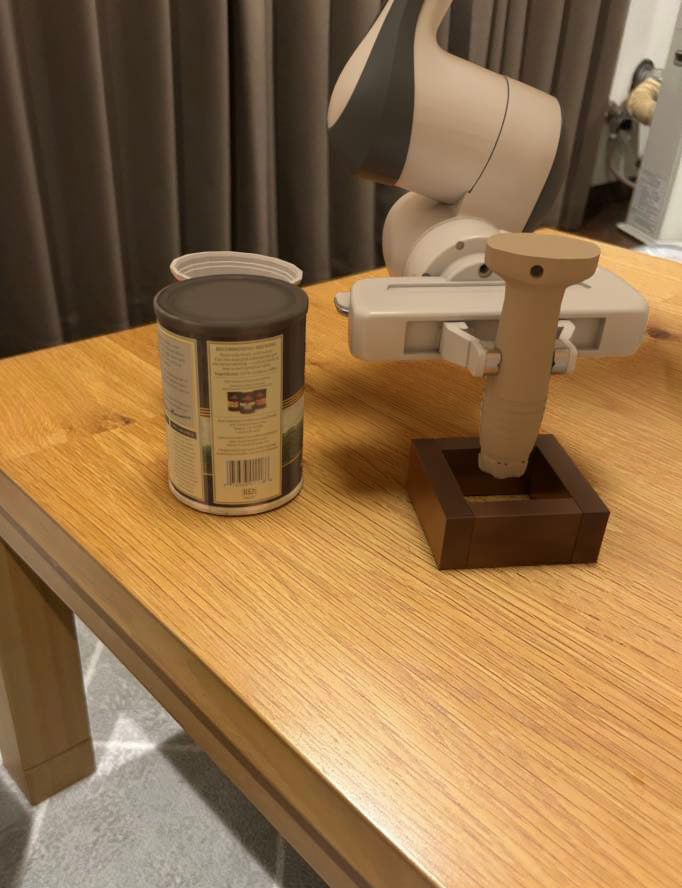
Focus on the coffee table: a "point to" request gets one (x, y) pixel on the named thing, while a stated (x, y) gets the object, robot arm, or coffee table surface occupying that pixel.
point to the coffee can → (233, 390)
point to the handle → (526, 340)
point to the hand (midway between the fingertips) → (527, 364)
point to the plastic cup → (233, 266)
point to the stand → (504, 506)
